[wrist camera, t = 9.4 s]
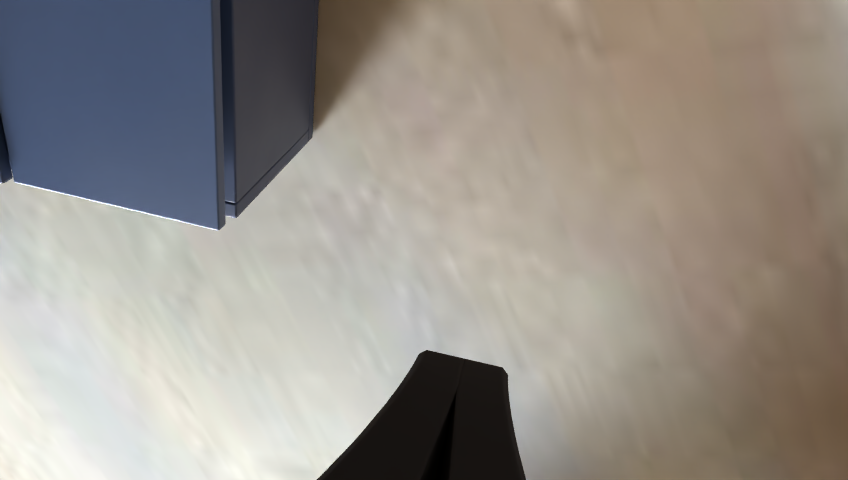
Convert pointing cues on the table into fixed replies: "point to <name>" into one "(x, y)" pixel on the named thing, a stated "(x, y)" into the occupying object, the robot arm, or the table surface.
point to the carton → (257, 93)
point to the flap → (117, 103)
